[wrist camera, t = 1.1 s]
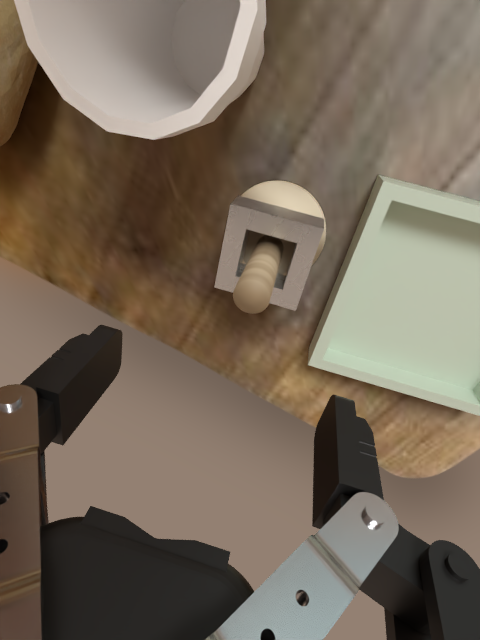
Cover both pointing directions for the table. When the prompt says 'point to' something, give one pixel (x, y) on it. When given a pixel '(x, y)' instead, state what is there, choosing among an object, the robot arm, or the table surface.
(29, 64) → the bread roll
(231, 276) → the ring
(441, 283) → the tray
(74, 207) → the table surface
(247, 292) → the beige peg stand
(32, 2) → the foam cup
